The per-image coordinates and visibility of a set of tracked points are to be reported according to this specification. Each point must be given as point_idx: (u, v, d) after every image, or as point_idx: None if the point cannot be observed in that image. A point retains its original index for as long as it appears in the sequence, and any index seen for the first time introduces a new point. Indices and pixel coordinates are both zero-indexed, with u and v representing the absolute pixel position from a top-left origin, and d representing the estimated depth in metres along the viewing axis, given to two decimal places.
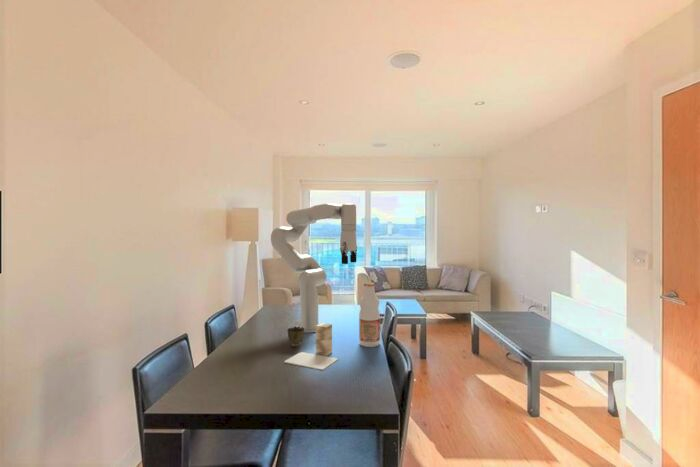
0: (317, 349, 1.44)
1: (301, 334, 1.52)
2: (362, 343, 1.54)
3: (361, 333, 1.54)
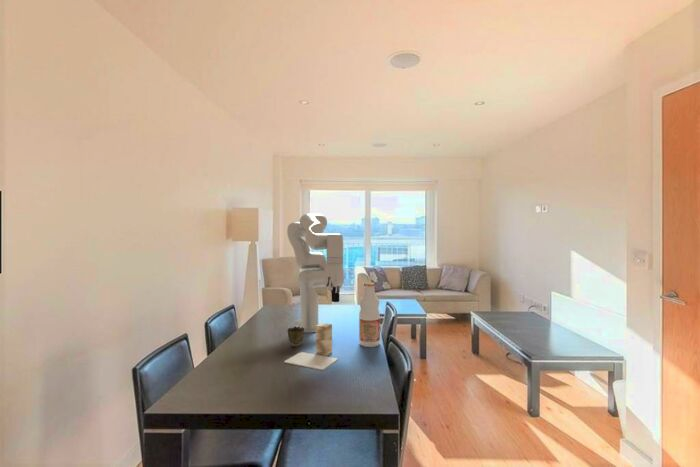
0: (317, 349, 1.44)
1: (301, 334, 1.52)
2: (362, 343, 1.54)
3: (361, 333, 1.54)
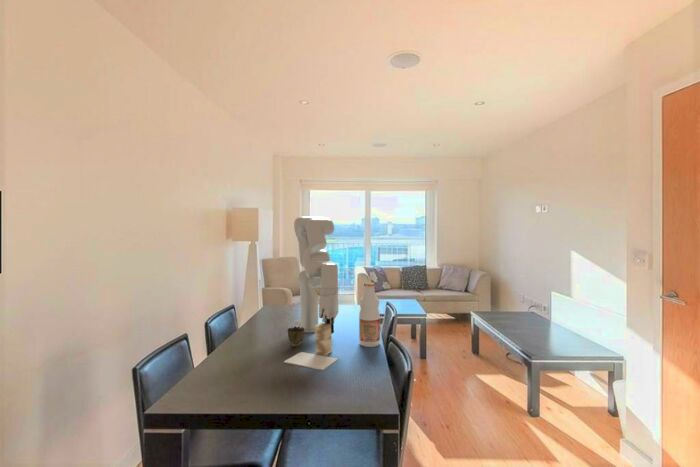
0: (317, 349, 1.44)
1: (301, 334, 1.52)
2: (362, 343, 1.54)
3: (361, 333, 1.54)
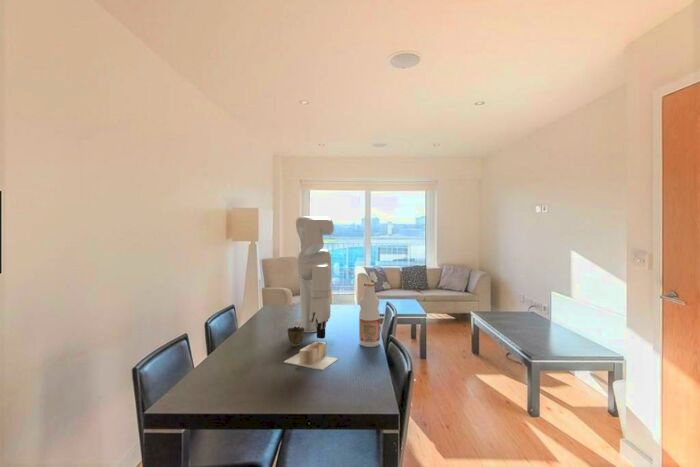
0: None
1: (301, 334, 1.52)
2: (362, 343, 1.54)
3: (361, 333, 1.54)
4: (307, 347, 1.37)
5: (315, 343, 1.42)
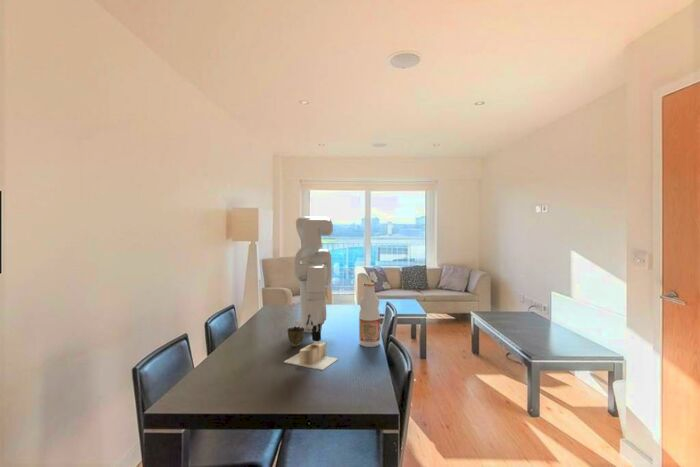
0: None
1: (301, 334, 1.52)
2: (362, 343, 1.54)
3: (361, 333, 1.54)
4: (307, 347, 1.37)
5: (315, 343, 1.42)
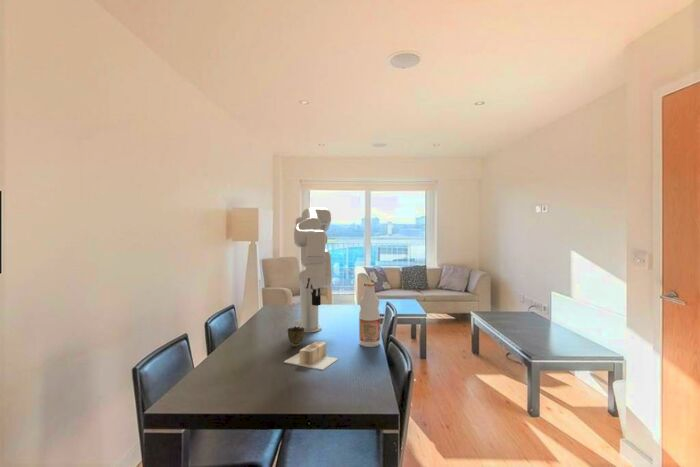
0: None
1: (301, 334, 1.52)
2: (362, 343, 1.54)
3: (361, 333, 1.54)
4: (307, 347, 1.37)
5: (315, 343, 1.42)
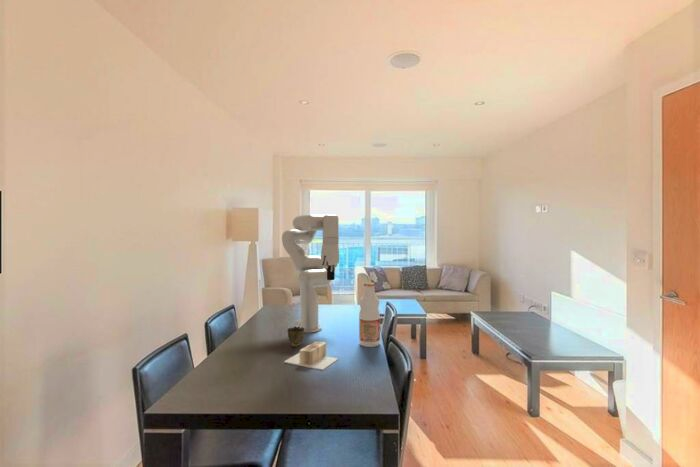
0: None
1: (301, 334, 1.52)
2: (362, 343, 1.54)
3: (361, 333, 1.54)
4: (307, 347, 1.37)
5: (315, 343, 1.42)
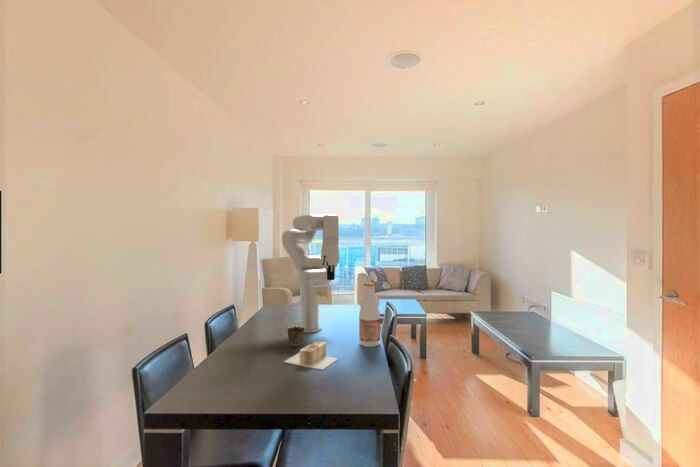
0: None
1: (301, 334, 1.52)
2: (362, 343, 1.54)
3: (361, 333, 1.54)
4: (307, 347, 1.37)
5: (315, 343, 1.42)
